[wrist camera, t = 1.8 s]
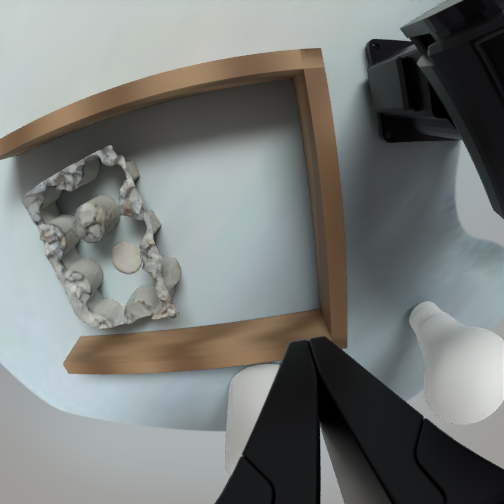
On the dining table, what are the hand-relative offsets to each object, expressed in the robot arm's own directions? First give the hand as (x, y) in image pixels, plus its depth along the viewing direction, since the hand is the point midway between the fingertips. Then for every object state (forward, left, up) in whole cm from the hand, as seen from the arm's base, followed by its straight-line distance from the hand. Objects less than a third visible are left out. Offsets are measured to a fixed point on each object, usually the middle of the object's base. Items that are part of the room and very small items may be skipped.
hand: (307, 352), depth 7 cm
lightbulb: (-10, +10, -13) cm, 19 cm away
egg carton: (+10, 0, -13) cm, 17 cm away
